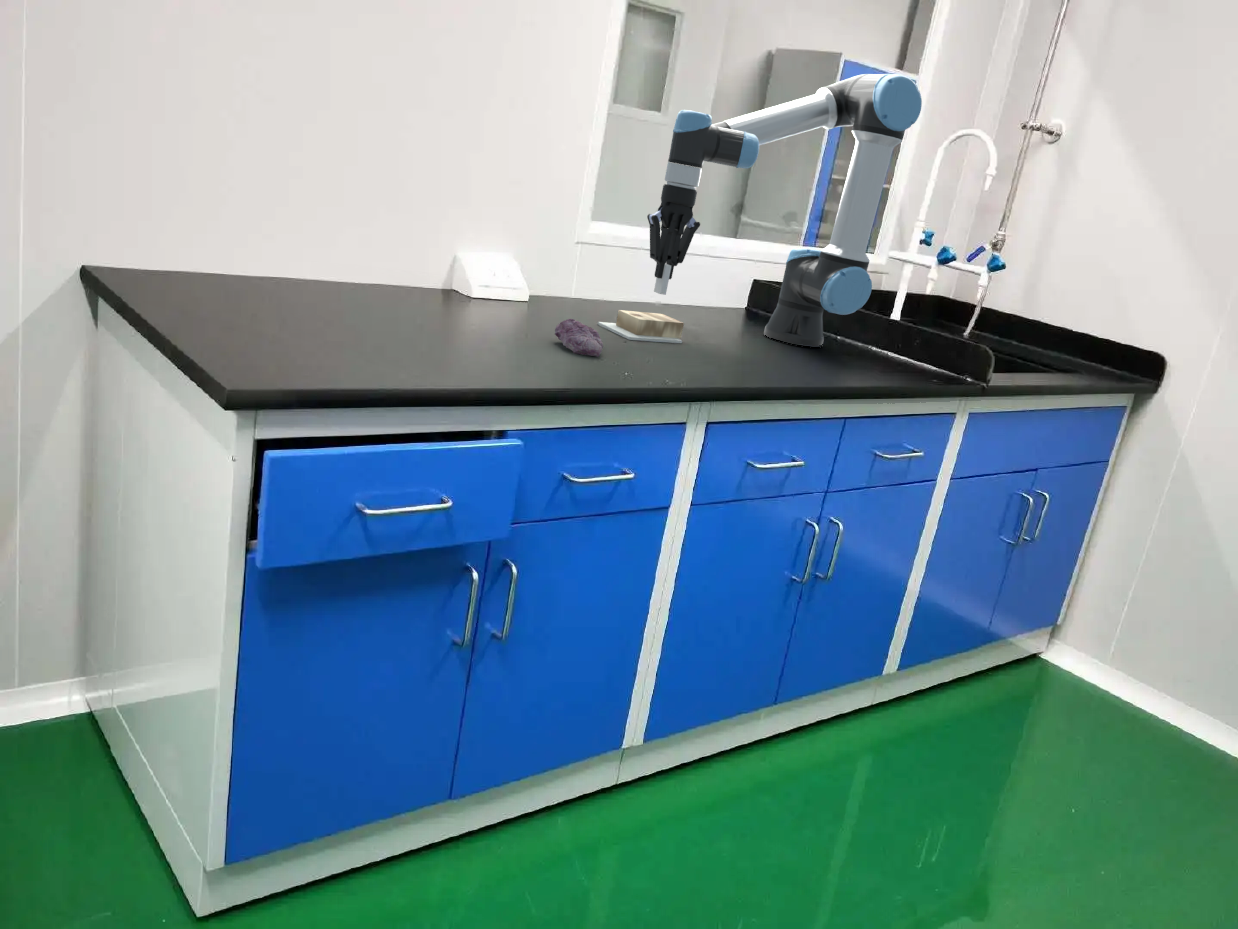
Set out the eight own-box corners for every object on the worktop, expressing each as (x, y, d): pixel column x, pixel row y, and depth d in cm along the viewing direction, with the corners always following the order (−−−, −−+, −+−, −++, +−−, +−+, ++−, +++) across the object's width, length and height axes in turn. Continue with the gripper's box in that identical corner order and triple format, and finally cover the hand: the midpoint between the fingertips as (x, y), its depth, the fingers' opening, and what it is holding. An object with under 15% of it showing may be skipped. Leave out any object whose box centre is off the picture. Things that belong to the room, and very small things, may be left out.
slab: (662, 313, 234) (618, 309, 227) (684, 322, 227) (639, 319, 220) (659, 328, 235) (615, 325, 228) (680, 338, 228) (636, 334, 221)
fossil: (579, 342, 206) (584, 317, 205) (611, 361, 195) (617, 334, 194) (543, 338, 202) (548, 313, 201) (574, 358, 191) (579, 331, 189)
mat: (648, 328, 236) (649, 325, 236) (681, 343, 225) (682, 340, 225) (597, 324, 229) (597, 321, 229) (629, 339, 218) (629, 337, 217)
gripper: (695, 187, 225) (674, 291, 232) (646, 179, 218) (626, 287, 225) (714, 192, 219) (692, 299, 226) (665, 183, 212) (644, 294, 219)
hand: (659, 292), depth 226 cm, fingers closed
